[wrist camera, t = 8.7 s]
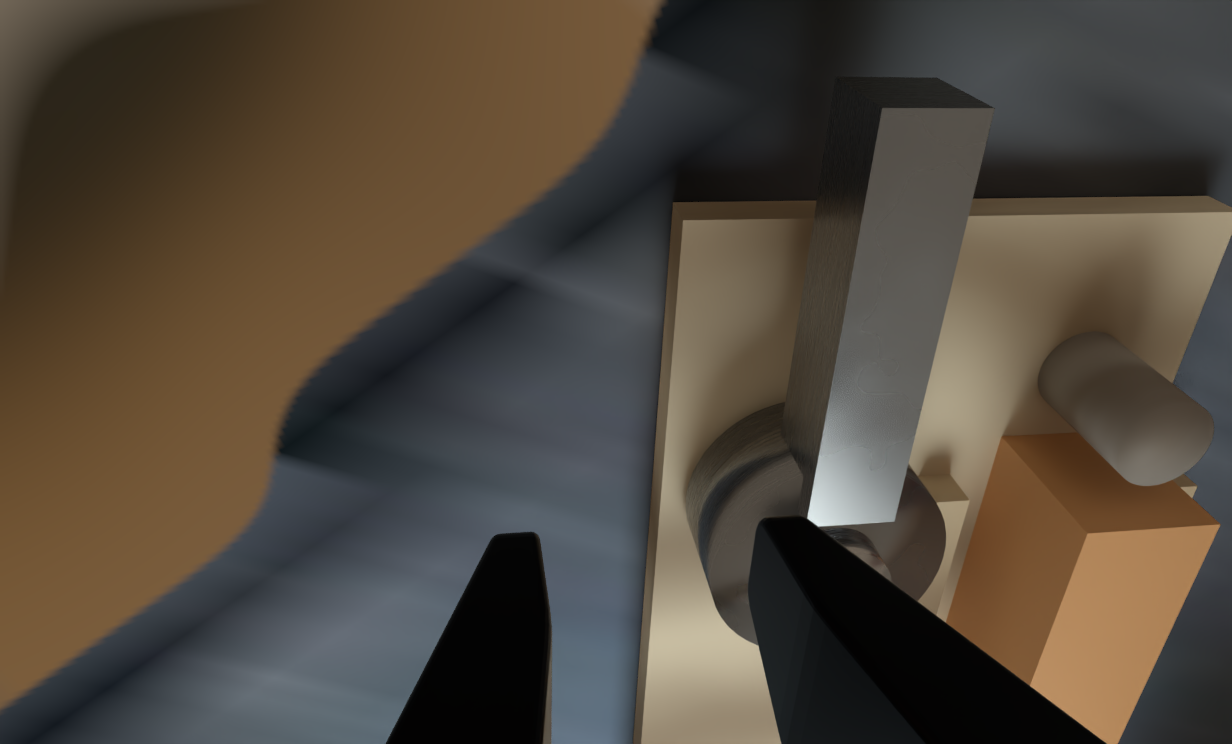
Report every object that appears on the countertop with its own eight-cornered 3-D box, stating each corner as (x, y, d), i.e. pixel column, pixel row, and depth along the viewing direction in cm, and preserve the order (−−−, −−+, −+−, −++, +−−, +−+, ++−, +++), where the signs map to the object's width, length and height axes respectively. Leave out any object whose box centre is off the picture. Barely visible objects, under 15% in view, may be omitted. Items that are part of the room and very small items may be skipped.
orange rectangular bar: (1012, 714, 27) (1079, 824, 24) (915, 724, 27) (972, 836, 24) (1118, 430, 22) (1220, 524, 19) (1001, 436, 22) (1088, 533, 19)
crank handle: (876, 567, 23) (934, 670, 20) (677, 581, 22) (709, 690, 19) (995, 65, 17) (1102, 114, 14) (728, 62, 16) (785, 112, 13)
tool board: (1025, 742, 30) (1098, 861, 26) (630, 783, 28) (653, 917, 24) (1240, 195, 21) (1395, 268, 17) (673, 202, 19) (720, 286, 15)
